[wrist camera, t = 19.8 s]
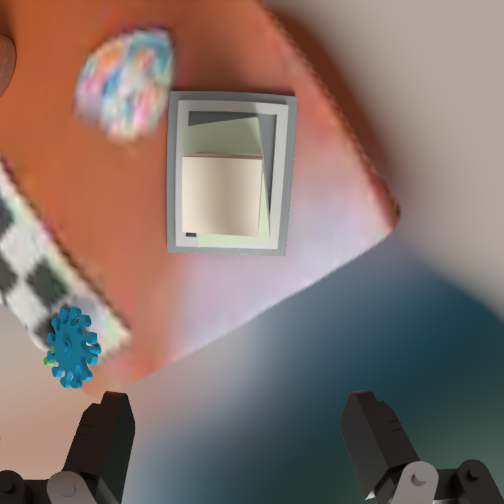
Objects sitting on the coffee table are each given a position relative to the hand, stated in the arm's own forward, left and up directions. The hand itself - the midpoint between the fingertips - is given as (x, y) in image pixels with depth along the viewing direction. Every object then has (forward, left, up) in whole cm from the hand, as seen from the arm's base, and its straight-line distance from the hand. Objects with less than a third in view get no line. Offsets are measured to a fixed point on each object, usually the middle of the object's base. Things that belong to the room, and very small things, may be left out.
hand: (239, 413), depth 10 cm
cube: (0, +5, -18) cm, 18 cm away
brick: (0, +5, -23) cm, 23 cm away
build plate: (0, +5, -24) cm, 25 cm away
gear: (-19, -15, -24) cm, 34 cm away
